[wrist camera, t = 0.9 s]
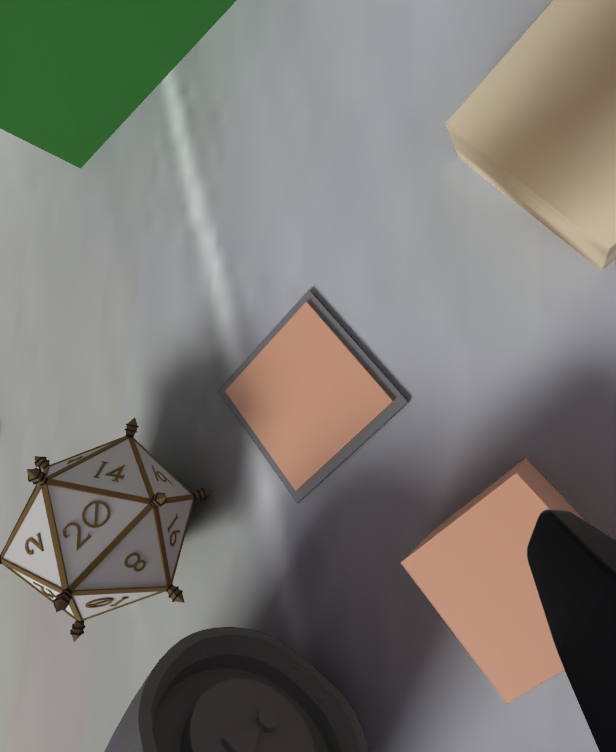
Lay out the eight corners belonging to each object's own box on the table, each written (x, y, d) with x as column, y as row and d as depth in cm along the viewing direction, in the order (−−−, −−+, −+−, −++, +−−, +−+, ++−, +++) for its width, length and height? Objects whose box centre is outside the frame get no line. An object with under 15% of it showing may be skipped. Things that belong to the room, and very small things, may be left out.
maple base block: (792, 101, 15) (844, 35, 12) (601, 273, 17) (609, 248, 14) (607, 1, 17) (616, -72, 14) (460, 162, 19) (445, 123, 17)
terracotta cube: (626, 564, 16) (651, 618, 12) (518, 634, 17) (507, 703, 13) (525, 457, 17) (516, 472, 13) (433, 529, 19) (400, 562, 15)
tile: (409, 402, 19) (406, 401, 19) (299, 502, 21) (294, 503, 21) (310, 290, 22) (306, 289, 21) (221, 390, 24) (215, 390, 23)
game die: (207, 463, 29) (109, 350, 22) (267, 580, 23) (160, 476, 16) (74, 553, 27) (-77, 463, 20) (102, 702, 21) (-98, 649, 14)
